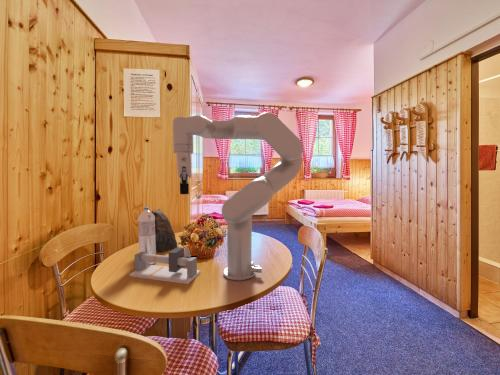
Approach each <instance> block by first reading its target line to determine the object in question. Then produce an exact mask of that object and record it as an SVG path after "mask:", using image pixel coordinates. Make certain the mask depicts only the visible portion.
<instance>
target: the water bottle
mask: <svg viewBox="0 0 500 375" xmlns="http://www.w3.org/2000/svg"><path fill="white" fill-rule="evenodd" d="M137 222H138V250H139V251H138V253H140V252H145V254H153V255H157V252H156V236H155V235H156V234H155V216H154V214H153V213H152V211H150V210H149V206H144V207H143V211H142V212H141V213H140V214H139V215H138V217H137ZM146 264H149V265H156V263H153V262H146Z"/></svg>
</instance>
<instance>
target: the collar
mask: <svg viewBox="0 0 500 375" xmlns="http://www.w3.org/2000/svg"><path fill="white" fill-rule="evenodd" d="M167 252H168V253H167V254H168V255H167V256H169V264H168V267H169V272H177V271H179V270H180V269H181V268H184V267H185V266H180V265H178V261H177V258H179V257H182V258H185V247H182V246H181V247H179V246H177V247H176V248H174V249H170V250H169V251H167Z"/></svg>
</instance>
